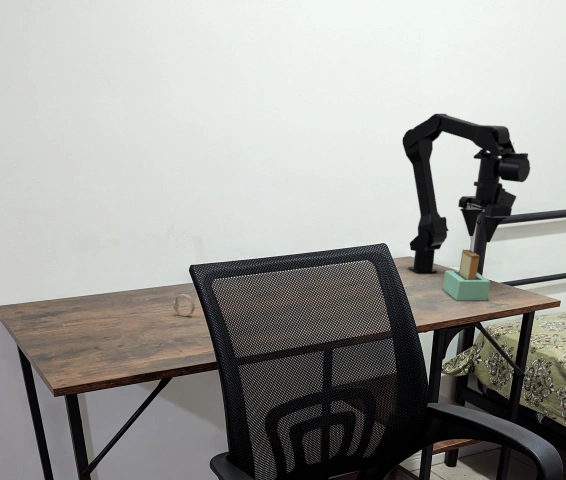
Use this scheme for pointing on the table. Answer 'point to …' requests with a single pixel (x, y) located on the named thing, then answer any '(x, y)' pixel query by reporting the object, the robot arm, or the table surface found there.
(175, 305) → the beige ring
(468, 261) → the toast
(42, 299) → the table surface
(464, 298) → the toaster
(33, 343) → the table surface
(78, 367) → the table surface
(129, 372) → the table surface
